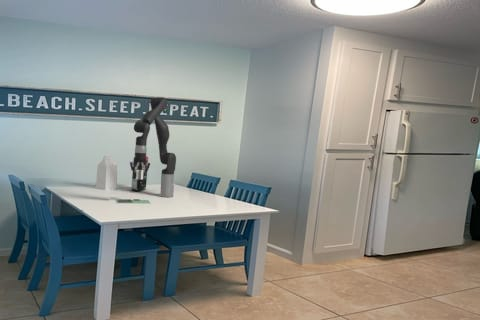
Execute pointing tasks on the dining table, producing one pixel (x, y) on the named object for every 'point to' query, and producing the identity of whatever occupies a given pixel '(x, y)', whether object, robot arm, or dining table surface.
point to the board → (132, 201)
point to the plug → (139, 174)
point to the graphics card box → (139, 183)
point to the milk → (106, 174)
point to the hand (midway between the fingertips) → (139, 177)
